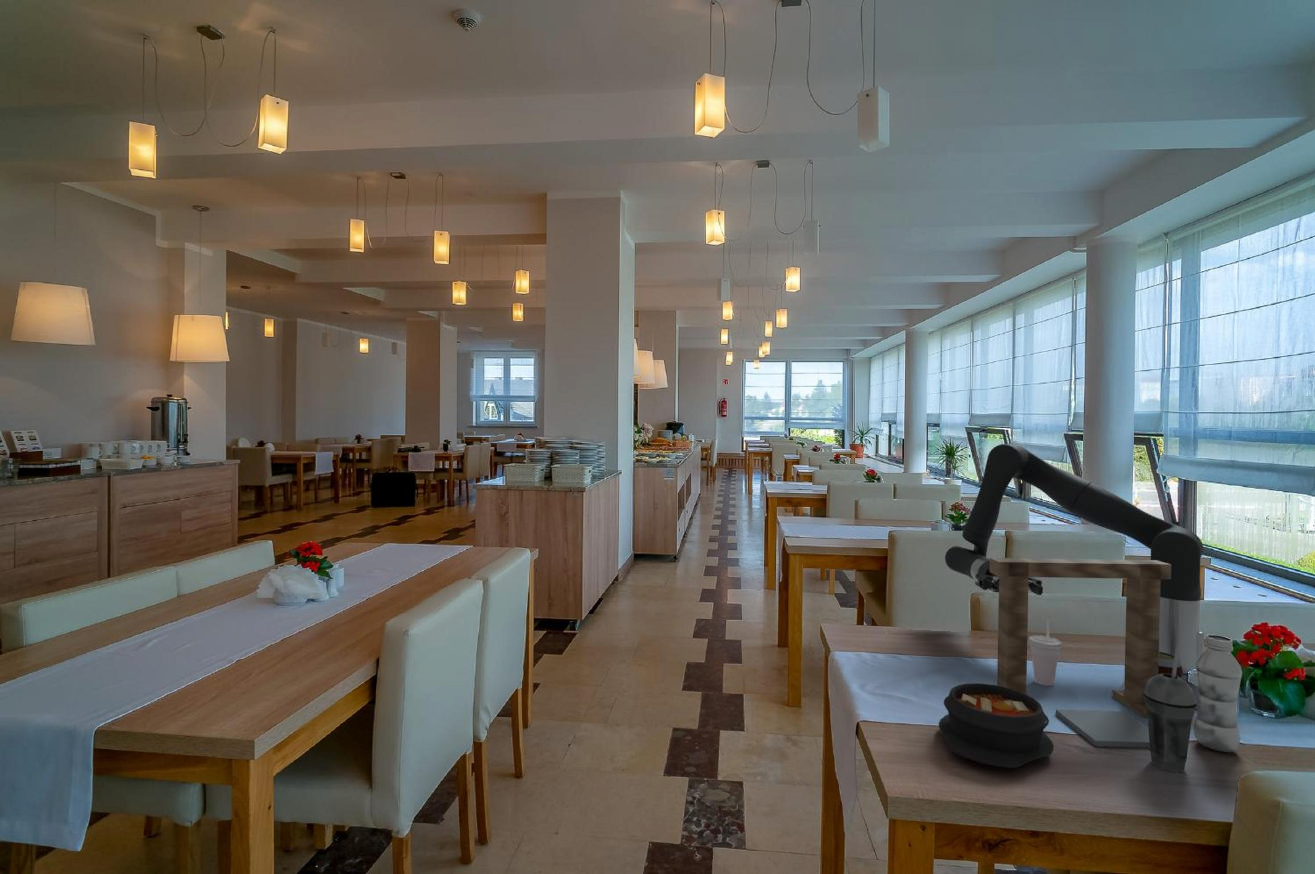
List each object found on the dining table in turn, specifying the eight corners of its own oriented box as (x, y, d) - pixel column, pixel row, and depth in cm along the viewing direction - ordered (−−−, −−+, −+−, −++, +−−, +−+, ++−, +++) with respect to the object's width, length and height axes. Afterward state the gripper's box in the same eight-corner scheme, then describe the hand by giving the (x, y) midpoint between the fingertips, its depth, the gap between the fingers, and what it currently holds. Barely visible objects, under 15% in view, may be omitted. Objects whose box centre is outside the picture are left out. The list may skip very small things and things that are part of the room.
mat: (1122, 715, 132) (1122, 710, 132) (1169, 748, 119) (1170, 742, 119) (1055, 714, 132) (1055, 709, 132) (1095, 746, 119) (1095, 740, 119)
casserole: (1040, 792, 105) (1041, 740, 104) (919, 755, 116) (920, 707, 116) (1063, 734, 124) (1064, 690, 124) (958, 707, 136) (958, 666, 135)
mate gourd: (1169, 686, 147) (1170, 619, 147) (1192, 701, 139) (1194, 630, 139) (1132, 684, 148) (1134, 617, 148) (1153, 698, 140) (1155, 628, 140)
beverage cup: (1130, 755, 116) (1133, 642, 116) (1169, 753, 117) (1172, 641, 116) (1166, 777, 109) (1169, 657, 108) (1207, 775, 110) (1210, 656, 109)
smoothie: (1065, 689, 145) (1066, 625, 144) (1033, 686, 146) (1034, 624, 146) (1054, 678, 151) (1055, 617, 151) (1023, 675, 152) (1024, 615, 152)
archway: (1143, 697, 141) (1147, 557, 140) (1178, 718, 131) (1182, 567, 130) (980, 693, 142) (983, 554, 142) (1002, 713, 132) (1005, 565, 132)
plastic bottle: (1228, 742, 121) (1231, 634, 121) (1247, 760, 115) (1251, 645, 114) (1186, 736, 123) (1189, 630, 123) (1202, 753, 117) (1205, 641, 116)
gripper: (964, 559, 175) (992, 574, 159) (1019, 560, 174) (1053, 575, 158) (963, 587, 175) (991, 605, 159) (1018, 589, 174) (1052, 606, 158)
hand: (1022, 590), depth 158 cm, fingers open, 8 cm apart
